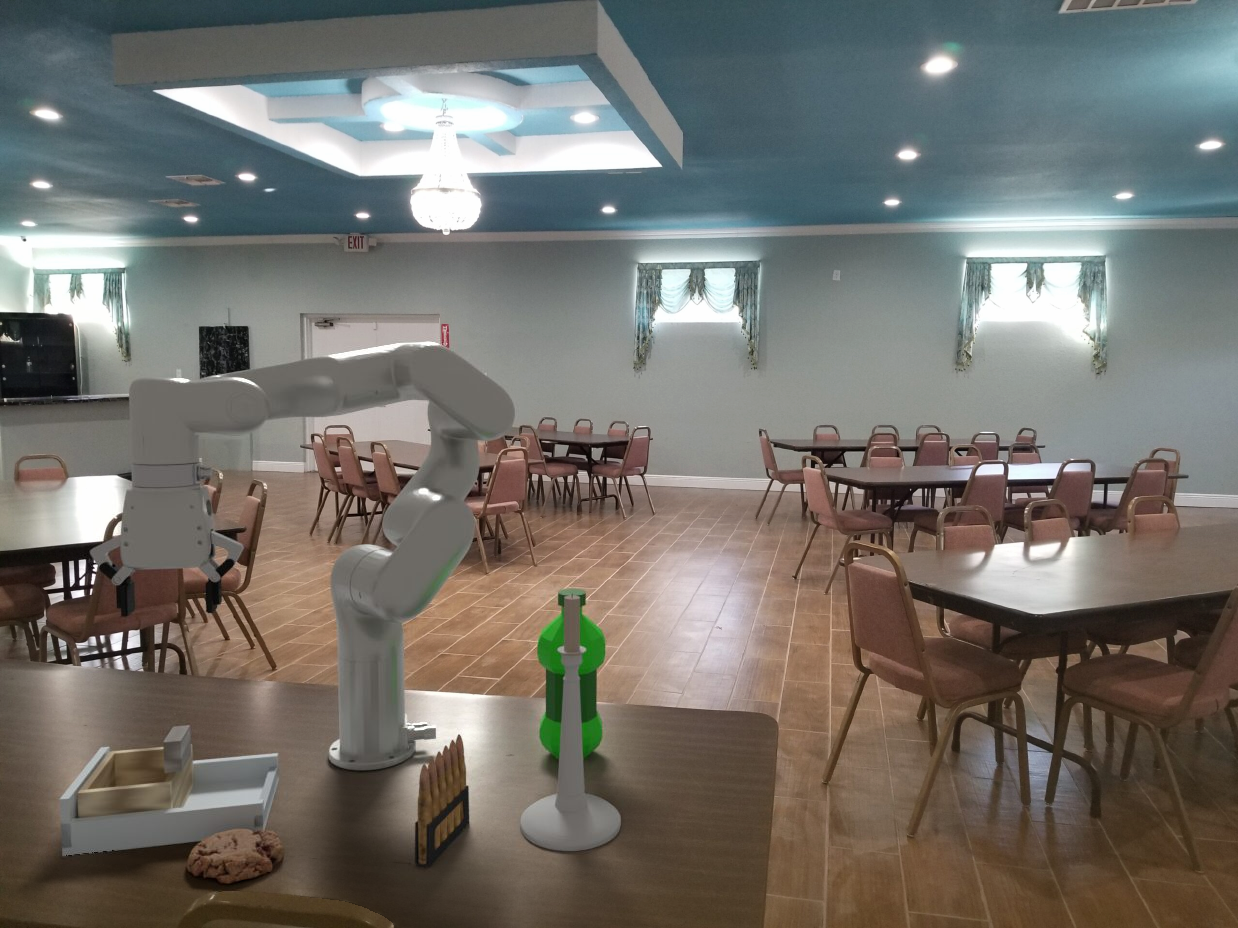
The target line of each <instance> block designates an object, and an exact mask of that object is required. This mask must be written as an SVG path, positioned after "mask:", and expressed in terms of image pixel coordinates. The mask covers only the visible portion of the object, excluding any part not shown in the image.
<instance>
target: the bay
mask: <svg viewBox="0 0 1238 928" xmlns="http://www.w3.org/2000/svg"><path fill="white" fill-rule="evenodd" d="M110 751H111V749H110V746H103V747H102V746H101V747H100V748H99V749H98V750H97V752H96V753H95V754H94V756H93V757H92V758H91V759H90V760H89V762H88V763H87V764H86V766H84V768H83V770H82V771H81V772H80V773H79V774H78V775H77V777H76V778H75V779H74V781H73V782H72V783H71V784H70V785H69V787H68V788H67V789H66V790H65V792H64V793H63V794H62V796H61V797H60V798H59V801H58V802H59V815H60V831H61V832H60V833H61V835H60V836H61V850H62V851H61V852H62V853H61V855H62V857H69V856H68V855H72V856H75V855H74V854H80V855H83V854H82V853H89V854H95V853H94V852H98V853H104V852H103V851H107V852H114V851H122V850H133V849H141V848H151V847H159V846H168V845H169V846H170V845H174V844H175V845H178V844H184V843H186V844H187V843H194V842H201V841H202V840H204V839H205V838H207V837H208V836H212V835H214V834H216V833H219V832H224V831H228V830H233V829H248V830H252V831H253V832H256V831H258V830H260V829H261V830H266V827H267V822H268V819H269V816H270V814H271V813H270V812H271V808H272V805H273V802H274V798H275V795H276V793H277V789H278V785H279V783H280V773H279V772H280V771H279V769H280V767H279V753H278V752H276V753H275V752H274V753H273V752H272V753H266V754H265V753H263V754H253V755H252V754H251V755H242V756H231V757H229V756H228V757H220V758H218V757H217V758H209V759H199V760H193V777H194V786H193V788H192V790H191V792H190V794H189V796H188V798H187V800H186V802H185V804H184V806H183V808H173V809H163V810H154V811H144V812H134V813H125V814H115V815H105V816H96V817H86V818H79V816H78V797H77V793H78V792H79V790H80V789H81V788H82V787H83V785H84V784H85V783H86V781H87V780H88V779H89V777H90V776H91V775H92V774H93V772H94V771H95V770H96V768H97V767H98V766H99V764H100V763H101V762H102V760H103V759H104V758H105V757H106V755H107V754H108V753H109V752H110ZM112 850H114V851H112ZM92 852H93V853H92ZM66 855H67V856H66Z"/></svg>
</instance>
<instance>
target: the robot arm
mask: <svg viewBox="0 0 1238 928" xmlns="http://www.w3.org/2000/svg"><path fill="white" fill-rule="evenodd" d="M128 400H129V401H128V402H129V404H128V405H129V428H130V429H129V430H130V431H129V433H130V457H131V458H130V461H131V464H130V465H131V466H130V467H131V487H129V488H127V489H126V491H125V496H124V500H123V501H124V502H123V508H122V514H121V516H122V517H121V524H120V525H121V526H120V528H121V529H120V535H118V536H115V537H113V538H111V539H110V540H109V539H108V540H107V541H105V542H103V543H102V544H98V545H97V546H95V547H93V548H91V549H90V550H89V554H90V557H92V559H93V561H94V562H95V564H96V565H97V566H98V569H99V572H101V573H102V574H104V575H105V577H107V578H108V579H110V580H111V584H112V585H115V592H116V594H115V595H116V599H115V600H116V608H117V609H119V610H120V616H121V617H122V618H124V617H125V618H127V617H128V616H130V615H131V614H132V613H133V612H135V611H136V592H135V589H136V587H135V581H134V579H132V577H131V576H132V575H133V573H135V572H136V570H169V569H170V570H171V569H174V570H175V569H196V568H198V569H199V570H200V571H201V572H202V573H203V574H204V575H205V576H206V577H207V578H208V579H207V582H205V588H204V589H205V612H206V613H207V614H213V613H214V612H216V610H217V609H218V606H219V605H220V606H221V604H222V602H223V596H222V595H223V594H222V593H223V591H222V590H223V589H222V578H224V576H225V575H226V574H227V573H229V571H230V570H232V568H234V567H235V565H236V564H237V563H238V562H237V561H238V560H239V558H240V557H241V555H242V552H243V550H244V548H245V546H244V544H243V543H242V542H238V541H237V540H235V539H233V538H230V537H228V536H225V535H224V534H221V533H218V532H216V530H215V521H214V520H215V518H214V513H213V512H214V511H213V505H212V500H211V496H210V490H209V488H208V486H205V485H201V483H202V481H203V480H206V479H212V478H213V475H214V472H213V468H212V467H206V466H203V465H202V461H200V434H209V435H210V434H211V435H220V436H228V437H229V436H230V437H242V436H246V435H249V434H252V433H254V432H256V431H257V430H259V429H260V428H262V426H264V424H265V423H266V421H273V420H279V419H290V418H327V417H335V416H343V415H347V414H350V413H351V414H352V413H355V412H359V411H364V410H369V409H373V408H376V407H381V406H382V407H383V406H387V405H391V404H392V405H393V404H395V403H397V404H398V403H401V402H407V401H426V402H427V401H428V405H427V410H426V411H427V412H426V413H427V421H428V424H429V429H430V447H429V451H428V453H427V456H426V458H425V459H424V461H423V462H422V463H421V465H420V467H419V468H418V470H417V471H416V472H415V473H414V475H413V476H412V477H411V478H410V480H408V482H407V484H406V485H405V486H404V487H403V488H402V490H401V491H400V492H399V494H397V496H396V497H395V498H394V499H393V500H392V502H391V503H390V504H389V506H388V507H387V509H386V510H385V512H384V515H383V518H382V523H381V526H382V532H383V534H384V536H385V538H386V539H387V540H388V541H389V542H390V543H392V544H393V545H394V546H396V548H395V549H394V550H393V549H390V548H387V547H383V546H379V545H375V544H368V543H367V544H358V545H354V546H351V547H349V548H348V549H345V550H344V551H343V552H342V553H341V554H340V555H339V556H338V557H337V558H336V561H335V562H334V564H333V566H332V569H331V573H330V591H331V593H330V594H331V599H332V603H333V604H332V605H333V610H334V616H335V624H336V636H337V637H336V638H337V641H336V642H337V679H338V680H337V682H338V683H337V685H338V689H337V690H338V730H339V731H338V733H339V734H338V735H339V738H338V739H337V740H335V741H334V742H333V743H331V745H330V746H329V748H328V759H329V761H330V763H331V764H333V765H334V766H336V767H338V768H341V769H345V770H348V771H349V770H352V771H375V770H381V769H387V768H390V767H393V766H396V765H398V764H401V763H403V762H404V761H407V760H408V759H410V758H411V757H412V756H413V755H414V753H415V751H416V749H417V748H416V747H417V744H416V741H418V740H419V741H421V740H424V741H427V740H436V738H437V730H436V727H437V726H436V725H428V721H426V722H425V721H424V722H423V721H421V722H415V723H412V721H408V714H407V713H406V705H405V704H406V703H405V701H406V699H405V696H406V695H405V691H406V690H405V686H406V685H405V636H404V635H405V634H404V633H405V632H404V627H403V623H405V622H409V621H411V620H413V619H414V618H416V617H418V616H419V615H420V614H422V612H423V611H425V610H426V609H427V607H429V605H430V604H431V603H432V601H433V600H434V599H435V597H436V596H437V595H438V593H439V592H440V591H441V590H442V588H443V587H444V586H445V584H446V583H447V581H448V580H449V578H450V577H451V576H452V575H453V573H454V572H455V570H456V569H457V568H458V566H459V565H460V564H461V562H462V561H463V559H465V558H464V557H465V556H466V555H467V553H468V551H469V550H470V548H471V545H472V543H473V540H474V538H475V532H476V519H475V516H474V513H473V511H472V508H471V507H470V506H469V504H468V503H466V501H465V499H466V498H467V497H468V495H469V493H470V492H471V490H472V489H473V487H474V486H475V483H476V481H477V480H478V476H479V473H480V472H479V471H480V465H481V464H480V463H481V462H480V461H481V460H480V449H479V441H481V442H482V441H483V442H490V441H496V440H498V439H501V438H502V437H504V436H505V435H506V434H508V433H509V432H510V430H511V428H512V427H513V424H514V422H515V416H516V413H515V412H516V409H515V405H514V402H513V400H512V397H511V396H510V395H509V393H508V392H507V391H506V390H505V389H504V388H503V387H502V386H501V385H500V384H498V383H497V382H496V381H494V379H492V378H490V377H489V376H487V375H486V374H485V373H484V372H482V371H481V370H480V369H478V368H477V367H476V366H474V365H473V364H471V363H470V362H469V361H467V360H466V359H464V357H462V356H461V355H459V354H458V353H456V352H455V351H453V350H452V349H450V348H449V347H447V346H445V345H443V344H441V343H438V342H433V341H423V342H421V341H420V342H400V343H393V344H387V345H382V346H380V345H379V346H374V347H370V348H368V347H367V348H364V349H358V350H351V351H346V352H340V353H333V354H327V355H326V354H325V355H322V356H321V355H320V356H317V357H316V356H315V357H310V358H309V357H308V358H305V359H300V360H296V361H292V362H286V363H283V364H277V365H270V366H263V367H257V368H251V369H245V370H240V371H234V372H228V373H227V372H226V373H221V374H217V375H216V374H215V375H209V376H206V377H202V378H201V377H200V378H199V379H197V380H191V379H188V378H185V377H184V378H183V377H157V376H155V377H139V378H136V379H134V380H133V381H132V382H131V383H130V385H129V390H128ZM217 547H219V548H221V549H224V550H226V551H227V552H228V554H227V556H226V558H225V560H224V561H223V562H222V563H221V564H218V562H216V561H215V559H214V558H215V556H216V553H217V552H216V551H217ZM117 548H119V550H120V551H119V552H120V560H121V564H122V567H120V566H119V565H117V564H116V563H115V562H114V561H112V560H111V559H110V556H109V553H110V552H112V551H113V550H116V549H117Z"/></svg>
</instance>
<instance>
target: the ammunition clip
mask: <svg viewBox="0 0 1238 928" xmlns="http://www.w3.org/2000/svg"><path fill="white" fill-rule="evenodd" d="M465 760H466V759H465V748H464V741H463V738H462V735H461V734H460V733H459V734H457V736H456V739H455V740H454V739H451V741H450V743H449V747H448V745H445V746H444V747H443V750H442V753H441V751H438V752H437V753H436V757H435V760H434V757H430V759H429V762H428V765H426V764H425V763H423V764H422V767H421V769H420V774H419V781H418V782H419V783H418V786H419V787H418V797H417V821H415V823H414V824H415V825H414V866H417V867H422V868H427V869H430V868H431V867H432V865H433V864H434V863H435V862H436V861H437V860H438V859H439V858H440V857H441V856H442V854H443V853H444V852H445V851H446V850H447V849H448V848H449V847H450V845H452V844H453V842H454V841H455V840H456V839H457V838H458V837H459V836H460V835H461V834H462V832H464V830H465V829H466V828H467V827H468V826H469V825H470V795H469V794H470V791H469V789H470V788H469V785H467V767H466V761H465Z"/></svg>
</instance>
